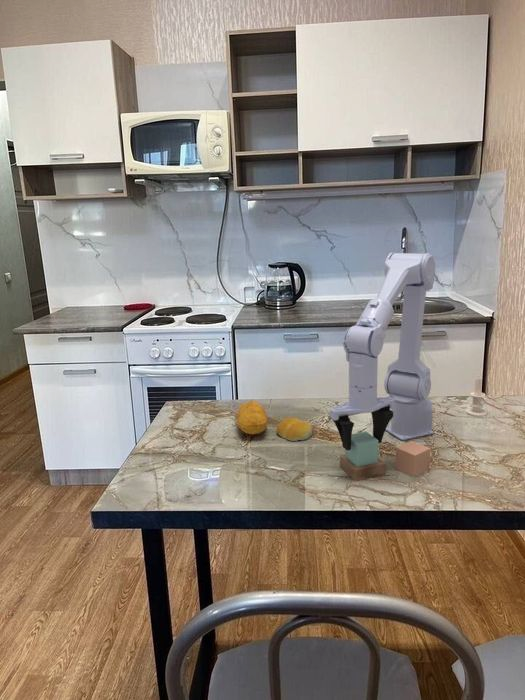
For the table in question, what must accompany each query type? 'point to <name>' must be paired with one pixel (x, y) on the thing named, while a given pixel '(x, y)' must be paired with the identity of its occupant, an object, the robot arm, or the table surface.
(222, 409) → the table surface
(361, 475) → the walnut block
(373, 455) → the teal cube
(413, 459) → the terracotta cube
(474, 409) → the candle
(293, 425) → the bread roll
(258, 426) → the orange oval lump
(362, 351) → the robot arm
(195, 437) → the table surface
